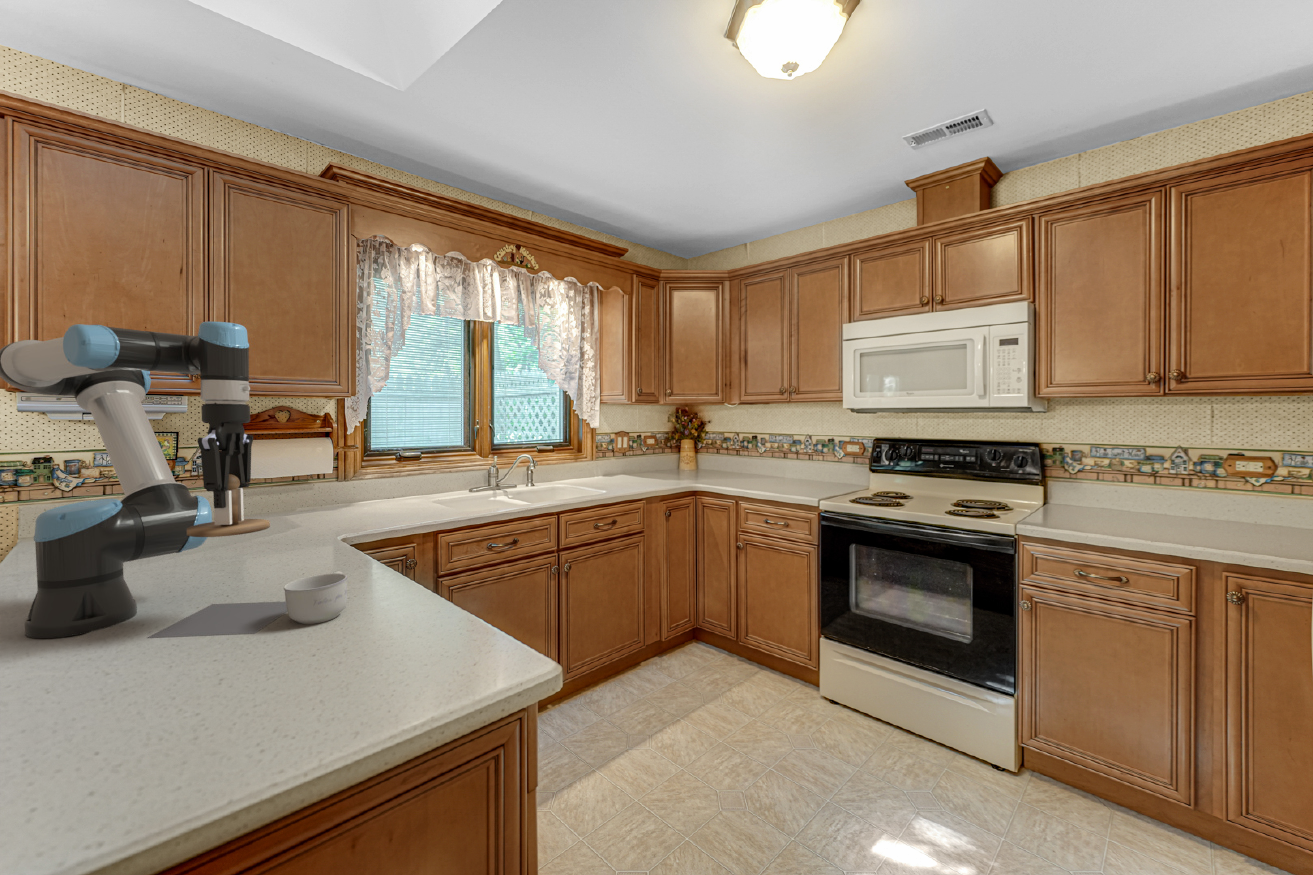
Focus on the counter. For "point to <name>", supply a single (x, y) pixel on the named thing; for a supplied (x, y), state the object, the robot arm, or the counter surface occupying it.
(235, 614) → the mat
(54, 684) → the counter surface
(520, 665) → the counter surface
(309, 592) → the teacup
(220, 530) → the lid
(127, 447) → the robot arm
